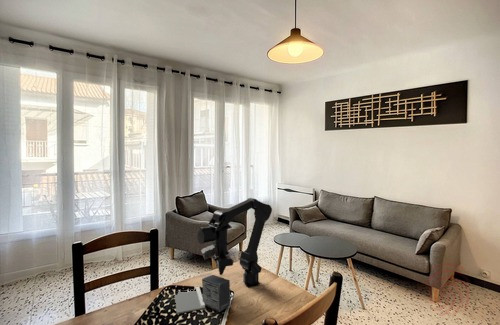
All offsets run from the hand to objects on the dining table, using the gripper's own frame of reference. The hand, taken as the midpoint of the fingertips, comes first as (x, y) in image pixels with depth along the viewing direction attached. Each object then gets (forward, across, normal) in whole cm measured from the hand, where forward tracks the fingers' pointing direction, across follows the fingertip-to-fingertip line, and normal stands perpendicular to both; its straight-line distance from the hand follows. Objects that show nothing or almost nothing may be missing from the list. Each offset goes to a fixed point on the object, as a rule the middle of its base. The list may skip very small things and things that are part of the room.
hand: (220, 274), depth 115 cm
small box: (+9, +8, -4) cm, 12 cm away
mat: (+9, 0, -14) cm, 17 cm away
